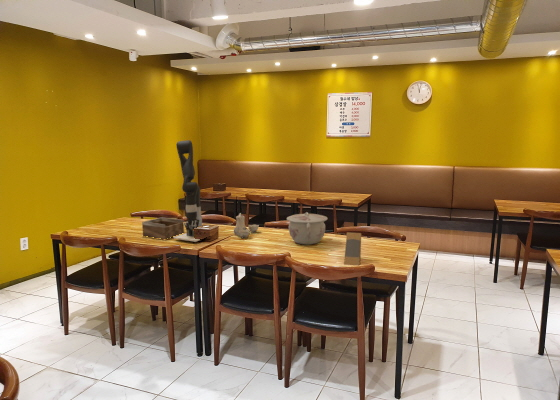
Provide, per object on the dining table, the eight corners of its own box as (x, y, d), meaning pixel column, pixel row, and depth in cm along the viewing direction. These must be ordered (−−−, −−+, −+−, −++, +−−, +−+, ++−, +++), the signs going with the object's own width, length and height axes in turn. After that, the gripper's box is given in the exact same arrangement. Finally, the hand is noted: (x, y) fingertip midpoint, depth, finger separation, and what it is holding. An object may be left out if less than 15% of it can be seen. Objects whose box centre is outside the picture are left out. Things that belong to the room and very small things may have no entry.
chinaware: (249, 242, 285) (251, 219, 283) (226, 238, 289) (228, 215, 286) (260, 233, 312) (261, 211, 310) (239, 230, 316) (240, 208, 313)
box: (162, 231, 315) (161, 217, 313) (184, 234, 304) (183, 219, 302) (143, 236, 298) (142, 221, 297) (165, 240, 288) (164, 224, 286)
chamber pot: (302, 235, 296) (302, 207, 292) (335, 241, 278) (335, 211, 275) (277, 243, 274) (277, 213, 271) (311, 250, 257) (311, 217, 254)
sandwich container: (343, 264, 228) (343, 238, 225) (346, 257, 242) (346, 232, 240) (359, 265, 225) (359, 239, 223) (360, 257, 240) (361, 232, 238)
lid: (189, 233, 299) (189, 225, 298) (211, 236, 289) (211, 228, 288) (173, 238, 285) (173, 229, 284) (195, 241, 275) (195, 232, 274)
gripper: (194, 208, 292) (195, 232, 295) (180, 212, 280) (181, 236, 283) (202, 209, 288) (203, 233, 291) (188, 212, 276) (189, 237, 279)
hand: (192, 235), depth 287 cm, fingers closed on lid, 3 cm apart
